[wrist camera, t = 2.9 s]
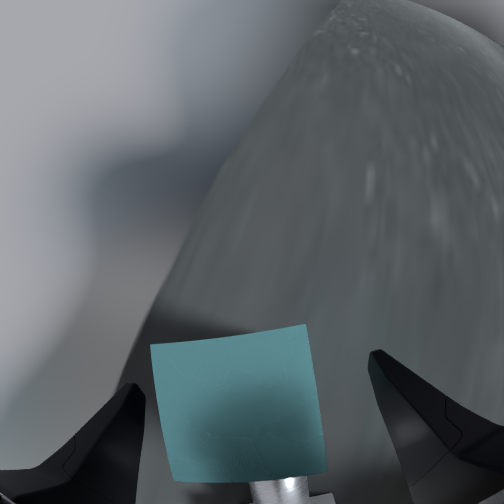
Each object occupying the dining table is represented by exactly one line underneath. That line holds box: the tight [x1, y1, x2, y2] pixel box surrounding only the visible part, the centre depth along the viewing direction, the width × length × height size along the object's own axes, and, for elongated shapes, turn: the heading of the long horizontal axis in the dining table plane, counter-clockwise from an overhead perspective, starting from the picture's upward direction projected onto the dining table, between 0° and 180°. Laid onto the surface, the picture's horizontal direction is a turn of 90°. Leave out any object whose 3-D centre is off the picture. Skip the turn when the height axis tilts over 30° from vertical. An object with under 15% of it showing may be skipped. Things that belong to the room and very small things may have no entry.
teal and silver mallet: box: [150, 324, 327, 504], centre depth 8 cm, size 14×4×10 cm, turn 8°
